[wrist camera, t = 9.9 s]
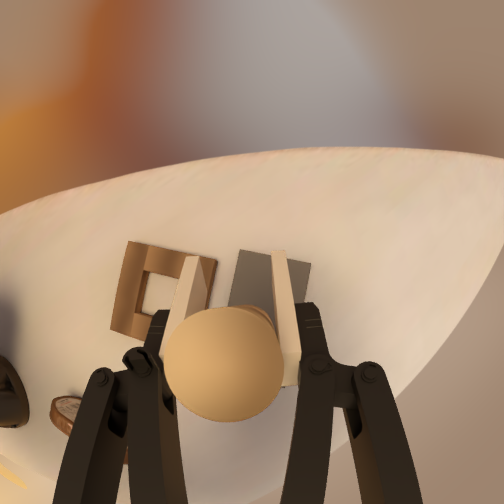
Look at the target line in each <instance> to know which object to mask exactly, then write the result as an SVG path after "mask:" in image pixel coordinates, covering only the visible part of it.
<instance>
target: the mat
mask: <svg viewBox="0 0 504 504" xmlns="http://www.w3.org/2000/svg"><path fill="white" fill-rule="evenodd" d="M287 265H288V270H289V276H290V282H291V288H292V294H293V300H294V304H295V303H304V299H305V294H306V289H307V283H308V278H309V273H310V267H311V263H306V262H301V261H296V260H291V259H287ZM238 305H254V306H257V307H259V308H261V309H262V310H264V311H265V312H266V313H267V314H268V316H269V317H270V319H271V321H272V323H273V326H274V329H275V333H276V323H275V312H274V300H273V289H272V263H271V255H266V254H261V253H255V252H250V251H245V250H240V251H239V256H238V261H237V265H236V270H235V275H234V279H233V284H232V289H231V293H230V298H229V303H228V307H230V306H238ZM276 336H277V335H276ZM281 387H282V388H285V386H281Z"/></svg>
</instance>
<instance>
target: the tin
mask: <svg viewBox="0 0 504 504" xmlns="http://www.w3.org/2000/svg"><path fill="white" fill-rule="evenodd" d="M81 400H82V399H80V398H77V397H73V396H61V397H57V398H55V399H53V401H52V404H51V411H50V419H51V421H52V423H53V424H54V425H55V426H56V427H57V428H58V429H59V430H61V431H62V432H63V433H65V434H66V435H67V436H70V433H71V430H72V426H73V423H74V420H75V417H76V414H77V412H78V409H79V406H80V403H81ZM123 464H128V446H127V450H126V454H125V459H124V463H123Z"/></svg>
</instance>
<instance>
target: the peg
mask: <svg viewBox="0 0 504 504" xmlns="http://www.w3.org/2000/svg"><path fill="white" fill-rule="evenodd" d="M164 371H165V376H166V379H167V382H168V385H169V387H170V389H171V390H172V392H173V394H174V395H175V397H176V398H177V399H178V400H179V401H180V402H181V403H182V404H183V405H184V406H185V407H186V408H187V409H189V410H190V411H191V412H193V413H195V414H196V415H198V416H201V417H203V418H206V419H209V420H212V421H218V422H236V421H242V420H245V419H248V418H251V417H253V416H255V415H257V414H259V413H260V412H262V411H263V410H264V409H265V408H267V407H268V406H269V405H270V404H271V402H272V401H273V400H274V399H275V397H276V396H277V394H278V392H279V390H280V388H281V385H282V382H283V377H284V360H283V355H282V351H281V348H280V345H279V342H278V339H277V336H276V333H275V329H274V326H273V323H272V321H271V319H270V317H269V316H268V314H267V313H266V312H265V311H264V310H262V309H261V308H259V307H257V306H254V305H238V306H230V307H221V308H213V309H207V310H203V311H200V312H197V313H195V314H193V315H191V316H189V317H188V318H186V319H185V320H184V321H182V322H181V323H180V324H179V325H178V326H177V327H176V329H175V330H174V331H173V332H172V334H171V336H170V338H169V340H168V342H167V345H166V348H165V352H164Z"/></svg>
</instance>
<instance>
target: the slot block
mask: <svg viewBox="0 0 504 504" xmlns="http://www.w3.org/2000/svg"><path fill="white" fill-rule="evenodd" d="M188 256H197V255H192V254H187V253H182V252H178V251H173V250H168V249H164V248H159V247H154V246H150V245H145V244H141V243H136V242H132V241H128V245H127V248H126V252H125V257H124V261H123V265H122V269H121V274H120V278H119V283H118V288H117V293H116V298H115V303H114V309H113V314H112V320H111V327H110V330H113V331H116V332H118V333H121V334H124V335H127V336H130V337H133V338H136V339H138V340H141V341H145V339H146V336H147V334H148V330H149V327H150V323H151V320H152V317H153V316H151V315H148V314H144V313H141V309H142V303H143V298H144V294H145V289H146V284H147V280H148V275H149V272H153V273H157V274H161V275H165V276H169V277H173V278H177V279H179V278H180V275H181V272H182V268H183V265H184V262H185V258H186V257H188ZM199 257H200V262H201V266H202V271H203V275H204V279H205V284H206V288H207V298H206V304H205V310H207V308H208V303H209V299H210V294H211V289H212V285H213V280H214V275H215V271H216V266H217V261H216V260H215V259H211V258H206V257H201V256H199Z"/></svg>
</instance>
